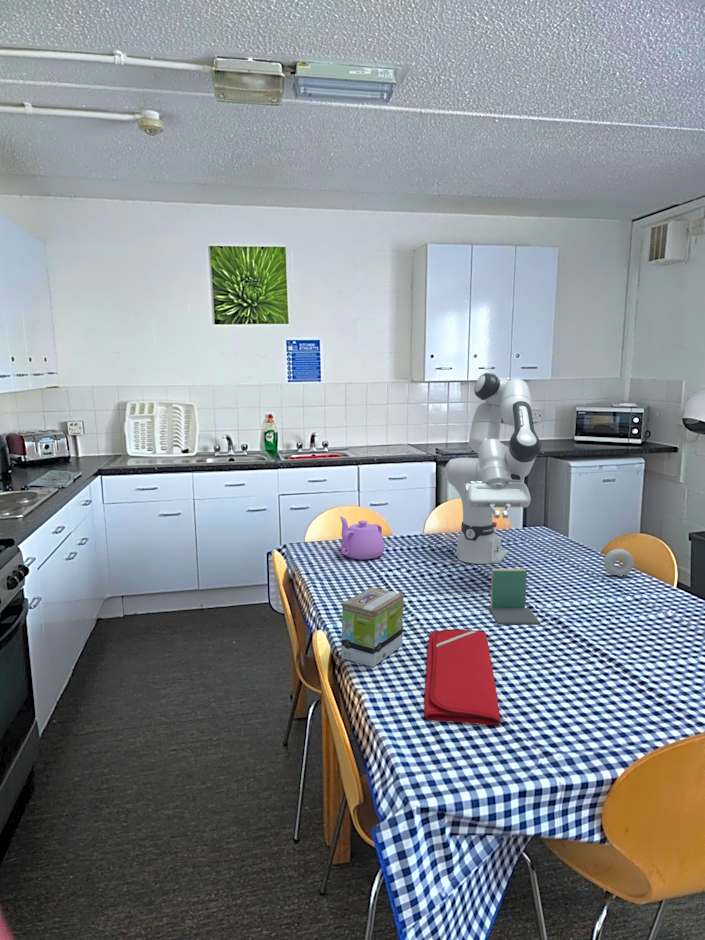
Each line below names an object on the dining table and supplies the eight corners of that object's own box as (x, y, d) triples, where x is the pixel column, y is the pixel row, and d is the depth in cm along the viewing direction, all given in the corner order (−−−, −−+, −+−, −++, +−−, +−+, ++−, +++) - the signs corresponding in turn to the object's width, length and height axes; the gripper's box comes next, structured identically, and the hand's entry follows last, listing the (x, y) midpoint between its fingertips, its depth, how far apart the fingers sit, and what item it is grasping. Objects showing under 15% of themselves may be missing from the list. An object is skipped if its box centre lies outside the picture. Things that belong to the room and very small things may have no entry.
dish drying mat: (423, 722, 130) (423, 706, 130) (428, 639, 170) (428, 626, 170) (500, 728, 128) (501, 711, 127) (487, 643, 168) (487, 629, 168)
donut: (604, 577, 220) (606, 549, 218) (601, 574, 223) (603, 547, 221) (634, 578, 219) (636, 550, 217) (631, 575, 222) (632, 547, 220)
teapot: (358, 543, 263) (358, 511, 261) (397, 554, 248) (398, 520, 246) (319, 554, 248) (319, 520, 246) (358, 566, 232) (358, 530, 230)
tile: (490, 606, 193) (491, 568, 191) (523, 606, 193) (524, 568, 191) (492, 609, 191) (493, 571, 189) (525, 609, 191) (526, 571, 189)
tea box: (375, 668, 153) (375, 610, 150) (340, 659, 158) (340, 602, 156) (403, 646, 165) (404, 592, 163) (370, 637, 171) (370, 585, 168)
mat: (489, 609, 190) (489, 608, 190) (529, 609, 190) (529, 607, 190) (497, 624, 179) (497, 622, 179) (539, 624, 179) (539, 622, 179)
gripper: (465, 476, 206) (470, 511, 198) (528, 476, 206) (535, 511, 198) (462, 486, 211) (467, 522, 203) (523, 486, 211) (530, 522, 203)
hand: (501, 517), depth 200 cm, fingers closed
